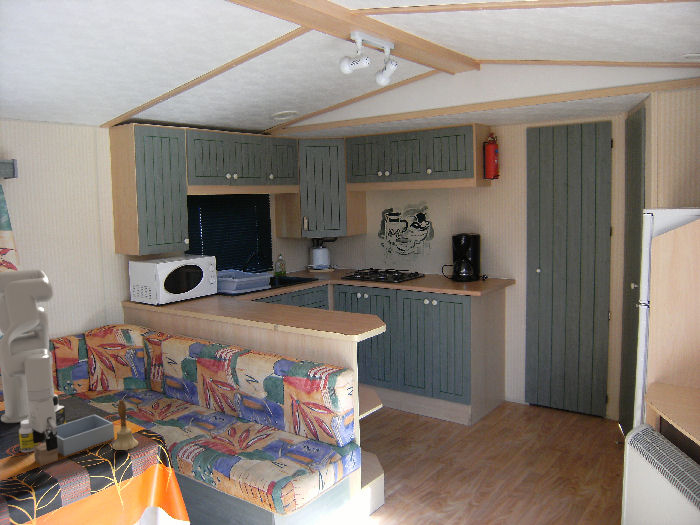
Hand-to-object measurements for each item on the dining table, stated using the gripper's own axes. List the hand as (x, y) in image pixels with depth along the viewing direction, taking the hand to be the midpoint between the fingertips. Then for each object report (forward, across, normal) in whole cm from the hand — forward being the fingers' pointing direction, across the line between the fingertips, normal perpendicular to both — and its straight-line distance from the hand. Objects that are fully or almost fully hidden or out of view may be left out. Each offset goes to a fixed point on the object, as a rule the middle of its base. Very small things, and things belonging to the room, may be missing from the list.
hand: (45, 445), depth 189 cm
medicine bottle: (+5, -27, +13) cm, 30 cm away
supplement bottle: (+5, -14, 0) cm, 14 cm away
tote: (+5, -6, +14) cm, 16 cm away
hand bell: (+6, +9, +22) cm, 24 cm away
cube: (+5, -1, 0) cm, 5 cm away
